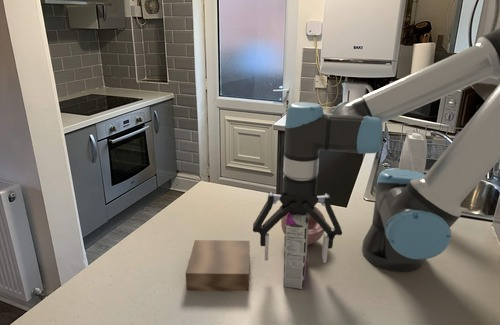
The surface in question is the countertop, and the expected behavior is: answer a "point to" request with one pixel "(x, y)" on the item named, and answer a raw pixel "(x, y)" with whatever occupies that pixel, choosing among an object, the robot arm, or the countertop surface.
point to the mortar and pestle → (309, 228)
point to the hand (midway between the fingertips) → (295, 258)
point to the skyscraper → (414, 152)
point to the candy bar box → (295, 250)
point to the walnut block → (218, 266)
